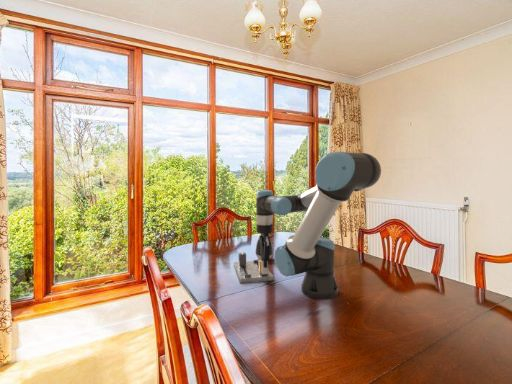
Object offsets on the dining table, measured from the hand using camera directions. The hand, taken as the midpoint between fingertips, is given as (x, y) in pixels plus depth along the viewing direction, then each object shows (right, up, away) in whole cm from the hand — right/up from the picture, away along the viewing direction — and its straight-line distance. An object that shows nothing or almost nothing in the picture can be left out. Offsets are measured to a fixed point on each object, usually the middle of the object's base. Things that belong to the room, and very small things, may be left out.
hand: (264, 273), depth 132 cm
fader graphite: (-11, 0, +17) cm, 20 cm away
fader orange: (-1, -1, +5) cm, 5 cm away
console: (-6, -3, +11) cm, 13 cm away
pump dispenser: (+1, -1, +32) cm, 32 cm away
